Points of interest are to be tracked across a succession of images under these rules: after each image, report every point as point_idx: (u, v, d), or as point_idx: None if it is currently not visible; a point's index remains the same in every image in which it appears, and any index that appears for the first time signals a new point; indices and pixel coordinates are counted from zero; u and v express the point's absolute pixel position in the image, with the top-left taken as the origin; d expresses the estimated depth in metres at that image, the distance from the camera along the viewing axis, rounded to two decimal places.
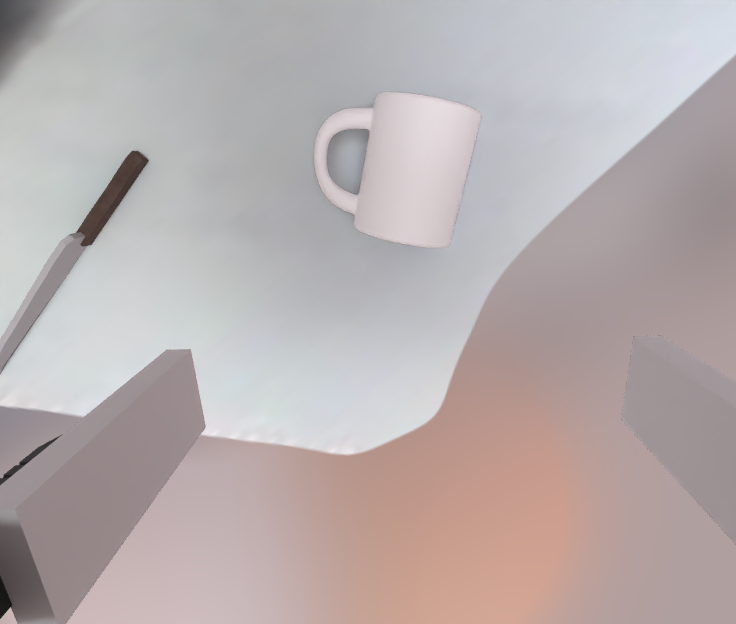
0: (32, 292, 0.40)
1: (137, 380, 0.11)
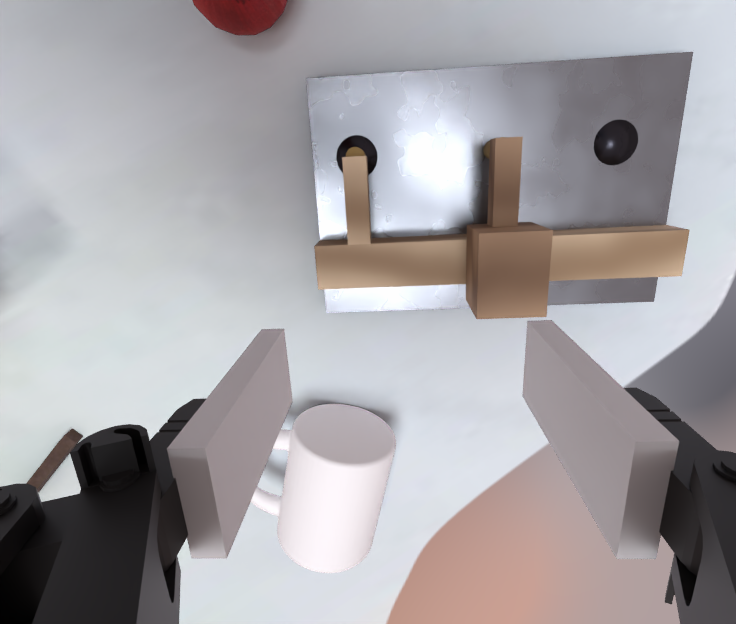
0: None
1: (250, 353, 0.13)
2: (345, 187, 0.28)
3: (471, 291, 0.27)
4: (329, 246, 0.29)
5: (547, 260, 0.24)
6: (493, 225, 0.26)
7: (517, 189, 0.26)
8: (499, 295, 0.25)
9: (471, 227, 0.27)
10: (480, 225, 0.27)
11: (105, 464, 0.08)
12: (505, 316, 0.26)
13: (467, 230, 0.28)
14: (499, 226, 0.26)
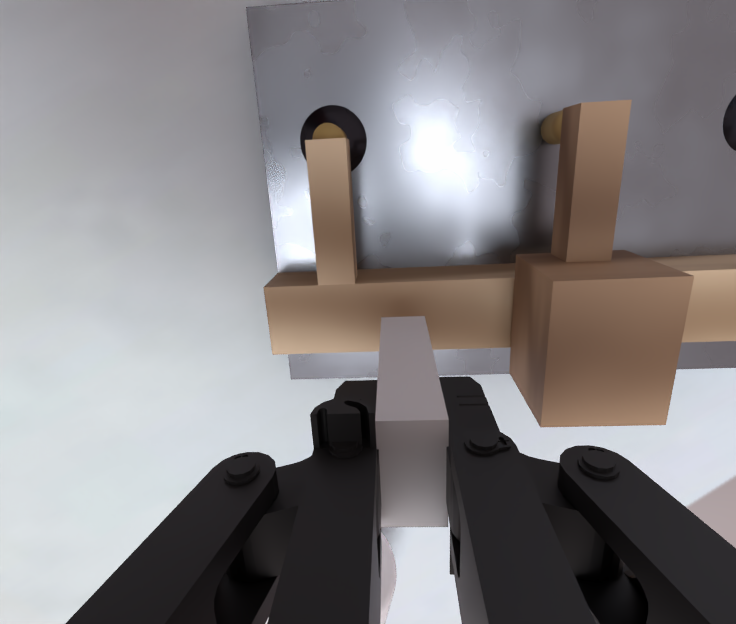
0: None
1: (387, 338, 0.13)
2: (311, 191, 0.17)
3: (525, 370, 0.16)
4: (288, 287, 0.18)
5: (677, 329, 0.13)
6: (567, 259, 0.15)
7: (614, 196, 0.14)
8: (583, 388, 0.14)
9: (528, 262, 0.15)
10: (541, 257, 0.16)
11: (335, 431, 0.08)
12: (592, 423, 0.14)
13: (517, 264, 0.17)
14: (579, 261, 0.15)
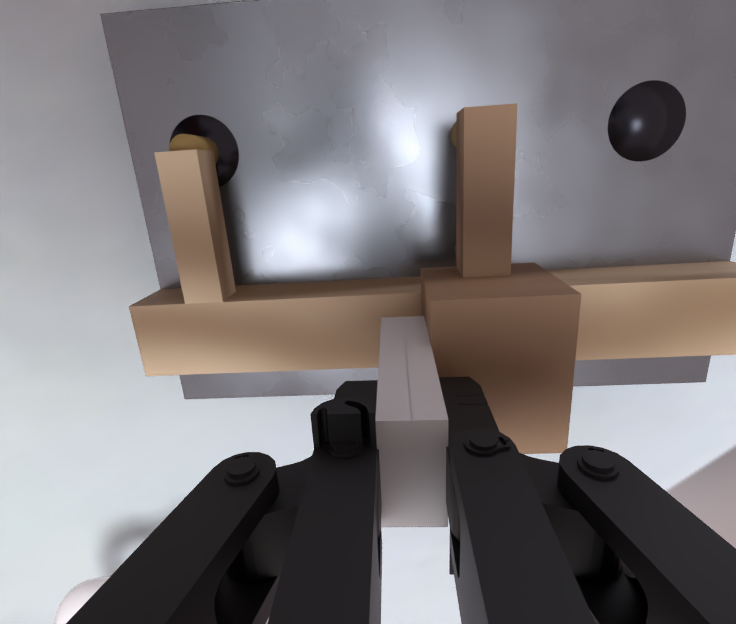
0: None
1: (388, 338, 0.13)
2: (167, 206, 0.16)
3: None
4: (154, 306, 0.17)
5: (569, 351, 0.12)
6: (464, 274, 0.14)
7: (508, 207, 0.13)
8: None
9: (424, 277, 0.14)
10: (442, 271, 0.15)
11: (335, 431, 0.08)
12: None
13: (421, 278, 0.16)
14: (475, 276, 0.14)
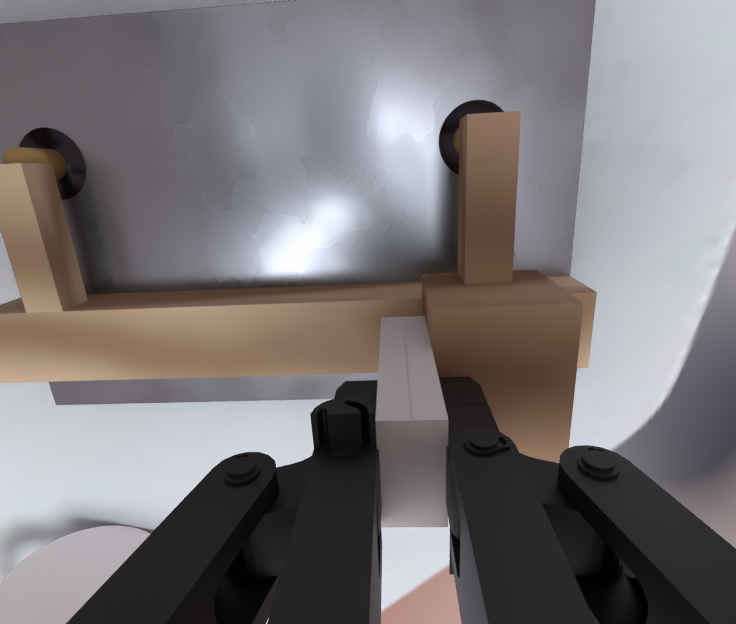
0: None
1: (388, 338, 0.13)
2: None
3: None
4: None
5: (571, 360, 0.12)
6: (466, 281, 0.14)
7: (511, 215, 0.13)
8: None
9: (425, 283, 0.14)
10: (444, 277, 0.15)
11: (335, 431, 0.08)
12: None
13: (422, 284, 0.16)
14: (477, 283, 0.14)
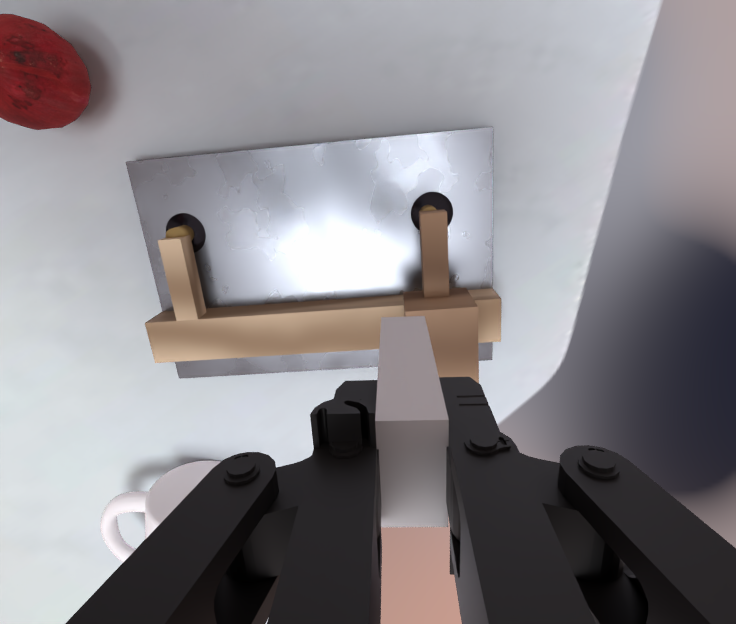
0: None
1: (388, 338, 0.13)
2: (165, 268, 0.29)
3: None
4: (159, 322, 0.30)
5: (475, 335, 0.25)
6: (425, 296, 0.27)
7: (446, 261, 0.26)
8: None
9: (404, 298, 0.27)
10: (414, 294, 0.27)
11: (335, 431, 0.08)
12: None
13: (403, 297, 0.28)
14: (431, 297, 0.26)
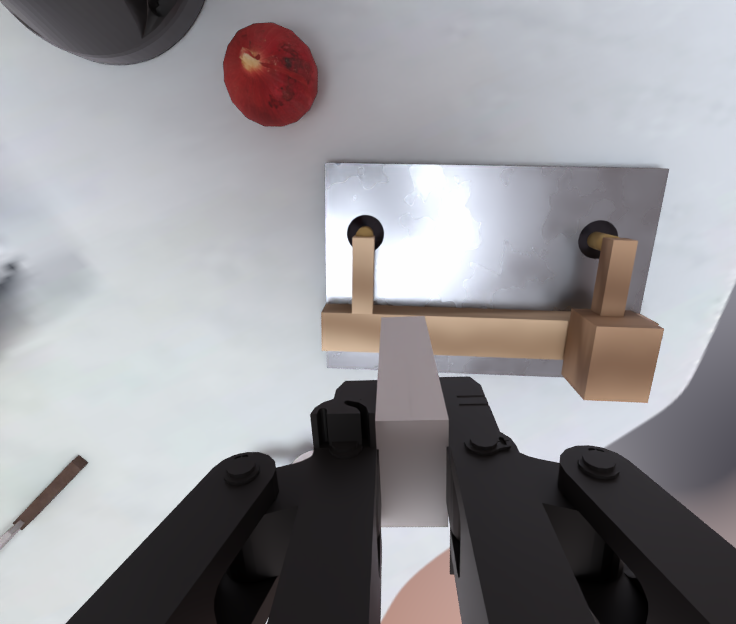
0: None
1: (388, 338, 0.13)
2: (353, 263, 0.31)
3: (574, 371, 0.30)
4: (335, 313, 0.32)
5: (655, 354, 0.27)
6: (601, 314, 0.29)
7: (627, 285, 0.28)
8: (607, 380, 0.28)
9: (580, 314, 0.29)
10: (586, 311, 0.30)
11: (335, 431, 0.08)
12: (610, 399, 0.28)
13: (572, 314, 0.31)
14: (607, 316, 0.29)
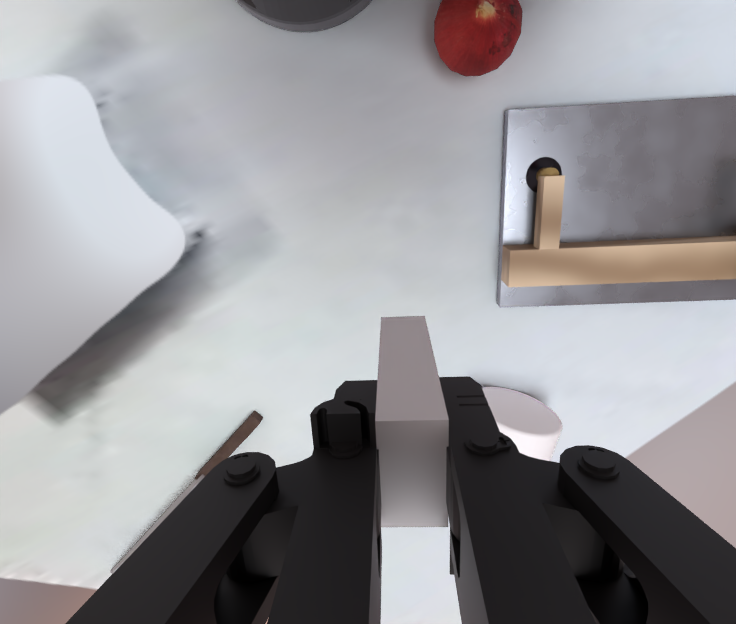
0: None
1: (387, 338, 0.13)
2: (543, 201, 0.33)
3: None
4: (523, 250, 0.35)
5: None
6: None
7: None
8: None
9: None
10: None
11: (334, 431, 0.08)
12: None
13: None
14: None
